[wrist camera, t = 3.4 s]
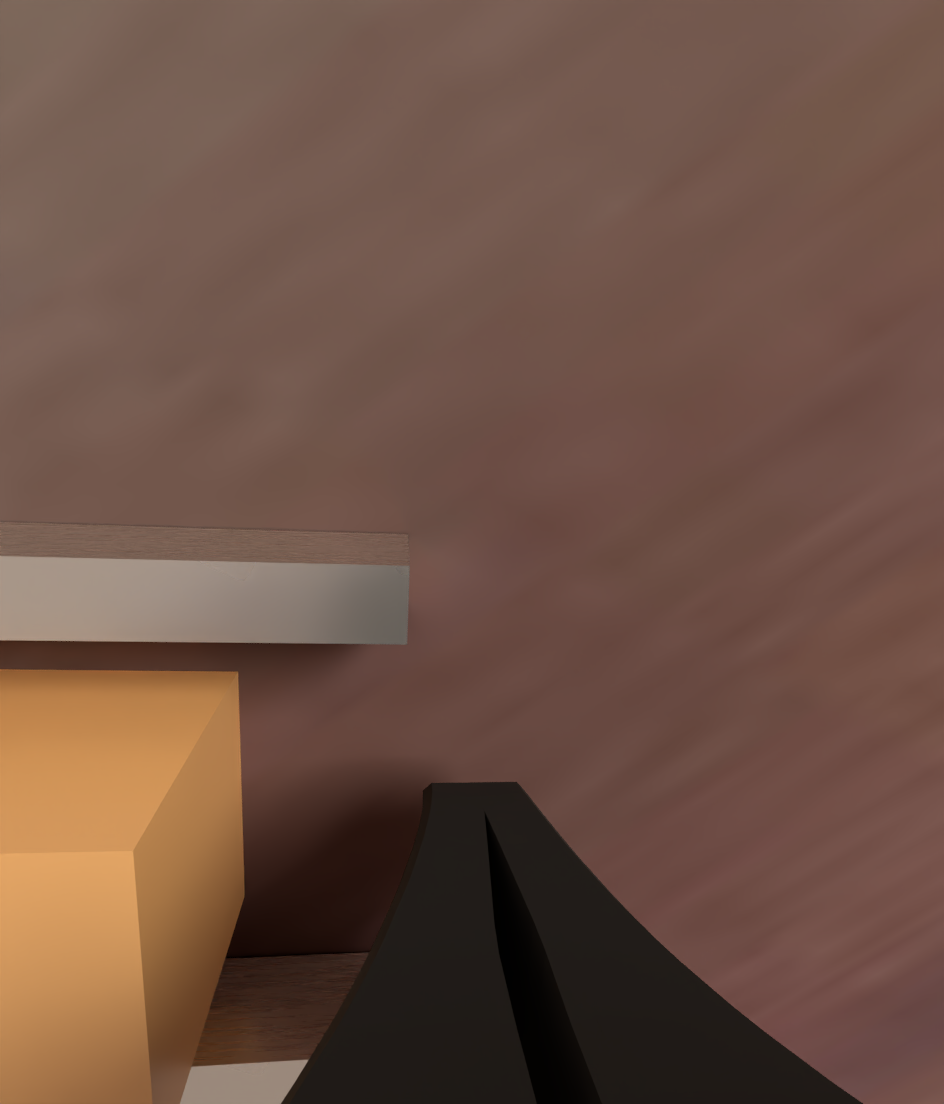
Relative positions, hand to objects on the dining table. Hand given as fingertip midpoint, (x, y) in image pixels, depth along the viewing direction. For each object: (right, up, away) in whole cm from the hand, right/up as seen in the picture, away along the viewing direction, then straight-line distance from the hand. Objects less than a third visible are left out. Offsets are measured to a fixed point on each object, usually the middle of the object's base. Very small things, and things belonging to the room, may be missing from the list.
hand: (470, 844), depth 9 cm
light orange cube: (-6, +1, +1) cm, 6 cm away
